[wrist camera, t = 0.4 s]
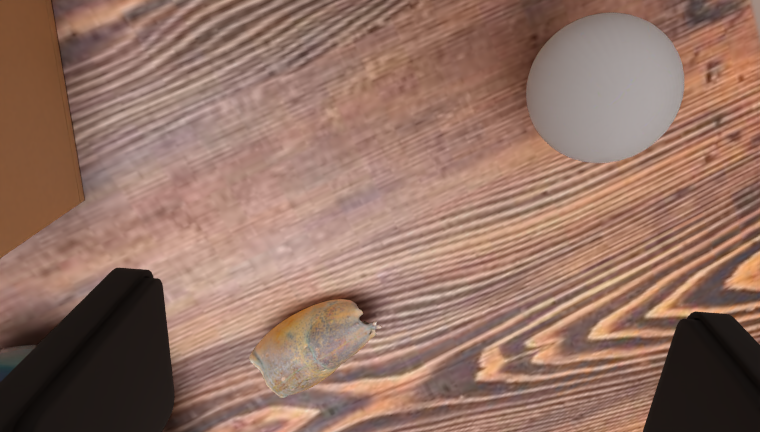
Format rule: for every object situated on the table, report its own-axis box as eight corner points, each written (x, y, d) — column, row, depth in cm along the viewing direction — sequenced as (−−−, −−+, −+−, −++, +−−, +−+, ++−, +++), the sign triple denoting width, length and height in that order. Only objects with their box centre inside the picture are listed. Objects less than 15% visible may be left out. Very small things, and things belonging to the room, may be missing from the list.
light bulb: (483, 97, 30) (515, 152, 21) (532, -14, 28) (593, -9, 19) (583, 135, 31) (657, 204, 21) (639, 29, 28) (749, 54, 19)
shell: (330, 260, 35) (359, 308, 31) (369, 294, 38) (399, 341, 34) (234, 344, 35) (252, 401, 31) (279, 371, 38) (301, 425, 34)
